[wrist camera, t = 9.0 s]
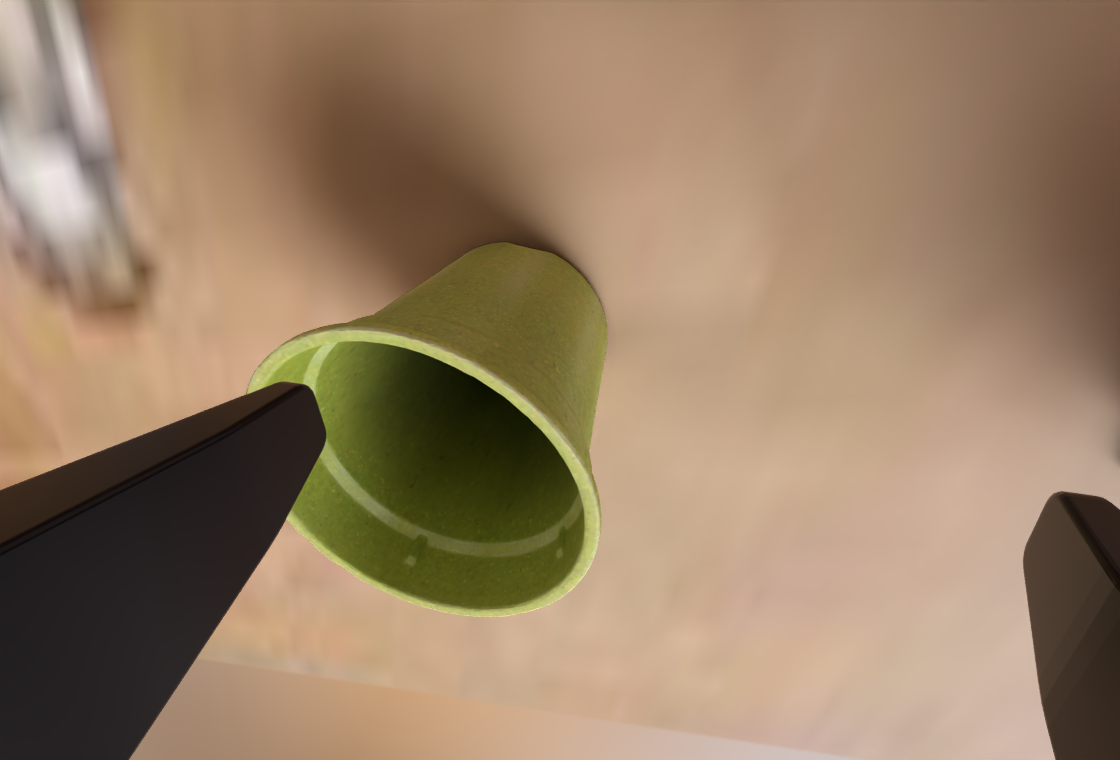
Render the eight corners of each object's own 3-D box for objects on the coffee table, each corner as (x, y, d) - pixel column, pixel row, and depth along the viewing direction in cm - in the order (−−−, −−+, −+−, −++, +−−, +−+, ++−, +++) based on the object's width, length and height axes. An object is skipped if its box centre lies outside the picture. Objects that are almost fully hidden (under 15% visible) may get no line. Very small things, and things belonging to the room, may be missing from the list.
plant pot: (715, 365, 22) (679, 571, 15) (516, 462, 27) (422, 647, 20) (537, 127, 19) (394, 247, 12) (352, 285, 24) (180, 431, 18)
